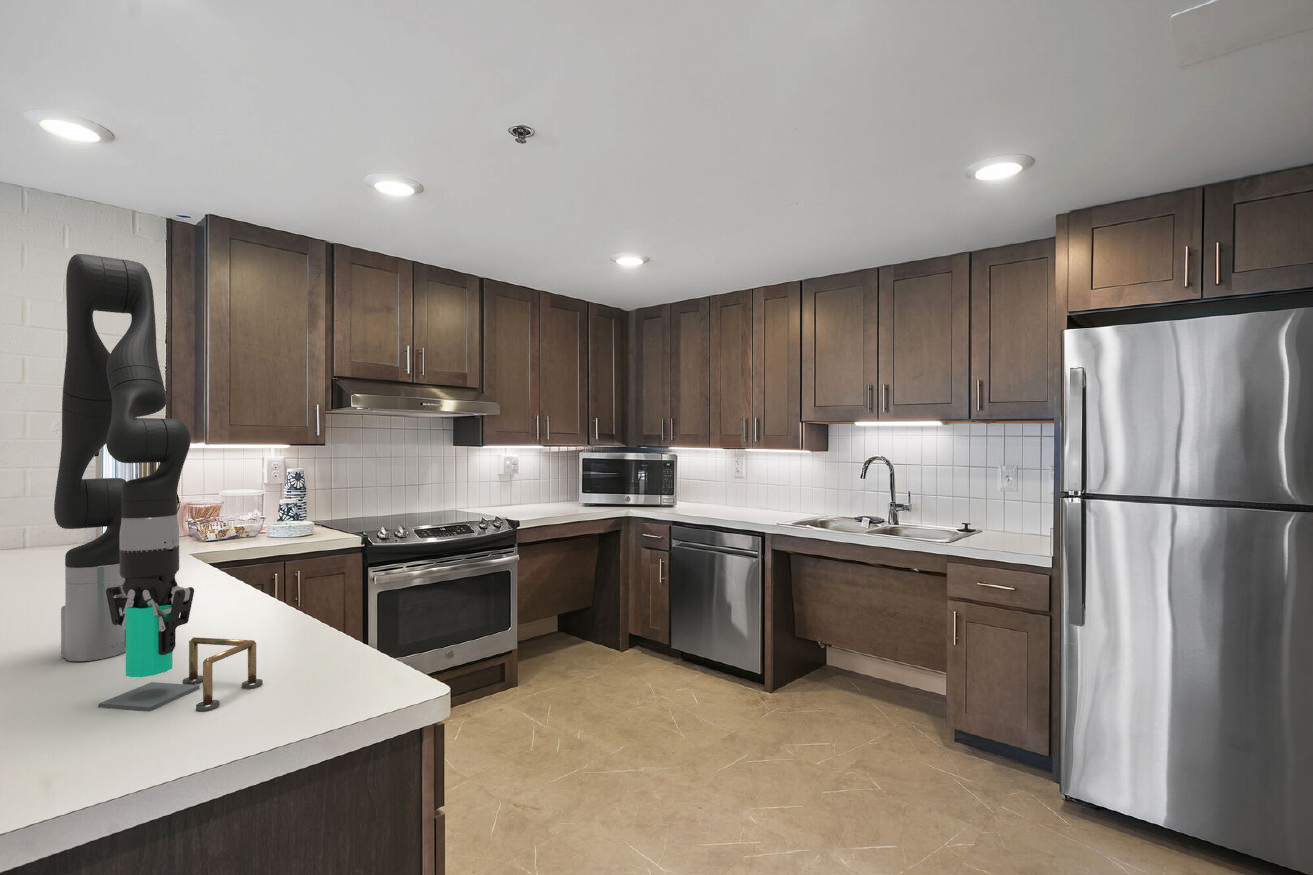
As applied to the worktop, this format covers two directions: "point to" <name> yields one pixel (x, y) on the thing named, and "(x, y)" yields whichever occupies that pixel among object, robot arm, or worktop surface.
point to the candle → (144, 643)
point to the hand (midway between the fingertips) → (150, 652)
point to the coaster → (149, 696)
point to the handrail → (207, 664)
